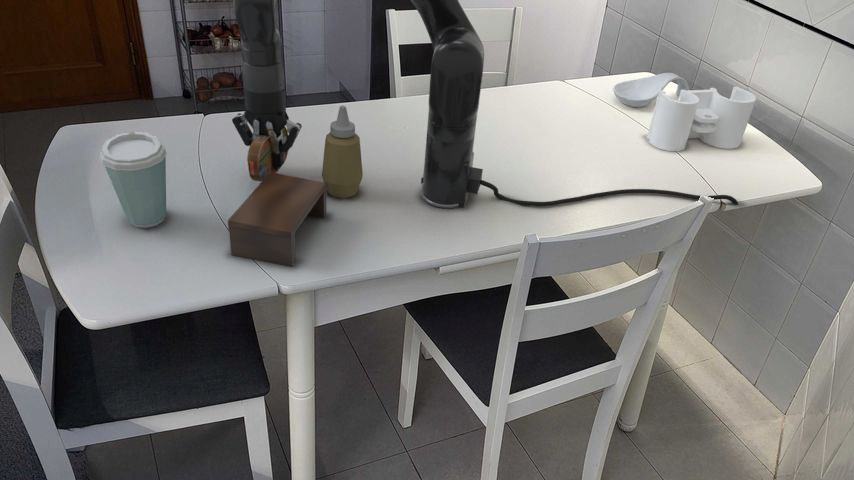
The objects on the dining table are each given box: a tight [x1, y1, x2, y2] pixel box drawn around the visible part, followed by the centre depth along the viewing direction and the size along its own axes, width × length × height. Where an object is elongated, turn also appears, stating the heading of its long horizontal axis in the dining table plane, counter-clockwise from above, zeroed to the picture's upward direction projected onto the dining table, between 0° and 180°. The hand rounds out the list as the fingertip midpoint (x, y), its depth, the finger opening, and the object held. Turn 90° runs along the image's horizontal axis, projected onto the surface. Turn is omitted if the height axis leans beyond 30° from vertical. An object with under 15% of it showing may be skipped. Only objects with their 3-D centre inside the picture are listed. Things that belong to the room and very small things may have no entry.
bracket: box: [646, 86, 757, 152], centre depth 181 cm, size 25×10×12 cm, turn 108°
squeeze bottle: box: [321, 105, 364, 199], centre depth 143 cm, size 8×8×18 cm
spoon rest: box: [612, 72, 690, 109], centre depth 201 cm, size 24×12×7 cm, turn 117°
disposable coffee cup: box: [98, 131, 168, 229], centre depth 129 cm, size 11×11×15 cm
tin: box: [246, 125, 289, 183], centre depth 145 cm, size 15×3×8 cm, turn 169°
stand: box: [227, 172, 328, 268], centre depth 132 cm, size 11×18×7 cm, turn 169°
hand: (270, 166), depth 147 cm, fingers closed on tin, 2 cm apart
